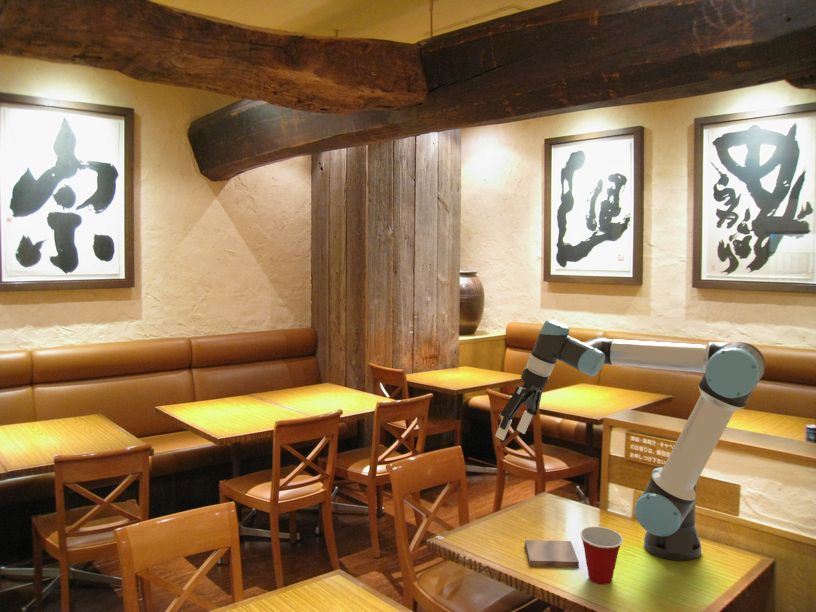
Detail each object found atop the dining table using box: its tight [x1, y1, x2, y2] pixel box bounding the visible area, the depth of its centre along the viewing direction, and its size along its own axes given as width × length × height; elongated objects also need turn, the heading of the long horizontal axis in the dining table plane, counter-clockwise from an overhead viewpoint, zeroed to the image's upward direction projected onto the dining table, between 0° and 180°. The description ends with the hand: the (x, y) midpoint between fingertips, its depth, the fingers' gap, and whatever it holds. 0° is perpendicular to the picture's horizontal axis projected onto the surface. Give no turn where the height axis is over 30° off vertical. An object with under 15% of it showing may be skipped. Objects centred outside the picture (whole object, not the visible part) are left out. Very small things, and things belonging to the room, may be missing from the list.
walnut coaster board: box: [524, 539, 580, 568], centre depth 189 cm, size 13×13×2 cm
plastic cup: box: [579, 526, 624, 585], centre depth 175 cm, size 11×11×12 cm
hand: (510, 434), depth 201 cm, fingers open, 13 cm apart
